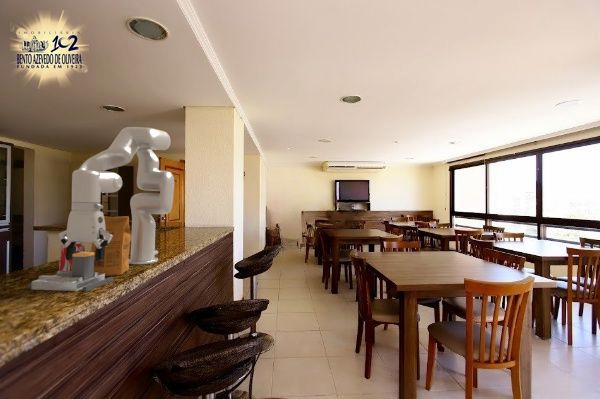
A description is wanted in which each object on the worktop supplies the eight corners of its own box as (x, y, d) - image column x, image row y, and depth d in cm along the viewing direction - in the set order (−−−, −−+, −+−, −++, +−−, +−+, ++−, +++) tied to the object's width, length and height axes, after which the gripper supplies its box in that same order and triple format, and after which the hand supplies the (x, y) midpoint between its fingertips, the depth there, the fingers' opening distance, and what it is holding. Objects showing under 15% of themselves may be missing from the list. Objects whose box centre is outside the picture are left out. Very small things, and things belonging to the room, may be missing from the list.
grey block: (81, 275, 93) (82, 251, 94) (93, 275, 93) (94, 252, 93) (71, 278, 89) (72, 253, 90) (83, 278, 89) (84, 254, 89)
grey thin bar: (110, 280, 97) (110, 277, 97) (113, 280, 97) (113, 277, 97) (82, 291, 85) (82, 287, 85) (86, 291, 85) (86, 287, 85)
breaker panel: (65, 279, 98) (65, 269, 98) (104, 280, 97) (105, 270, 97) (31, 289, 86) (31, 278, 86) (76, 290, 85) (76, 279, 85)
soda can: (69, 278, 98) (71, 244, 99) (53, 276, 100) (55, 243, 100) (88, 273, 105) (89, 241, 106) (73, 272, 107) (74, 240, 107)
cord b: (56, 279, 97) (56, 276, 97) (60, 279, 97) (60, 276, 97) (27, 288, 87) (28, 284, 87) (31, 288, 87) (31, 284, 87)
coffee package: (98, 270, 111) (101, 215, 111) (132, 270, 113) (135, 215, 113) (83, 277, 101) (86, 216, 101) (120, 276, 103) (123, 216, 103)
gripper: (119, 207, 96) (118, 257, 96) (70, 206, 96) (69, 256, 96) (103, 209, 88) (102, 263, 88) (50, 207, 88) (49, 261, 89)
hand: (85, 259), depth 92 cm, fingers open, 9 cm apart
